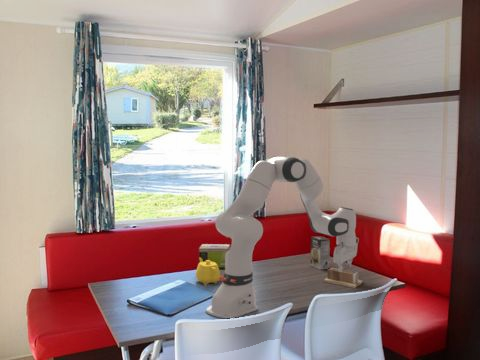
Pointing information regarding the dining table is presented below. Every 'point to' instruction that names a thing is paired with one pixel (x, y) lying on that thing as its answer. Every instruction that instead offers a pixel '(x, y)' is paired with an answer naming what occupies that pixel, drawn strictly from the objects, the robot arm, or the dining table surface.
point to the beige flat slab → (343, 283)
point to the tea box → (215, 254)
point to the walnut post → (342, 275)
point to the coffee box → (320, 252)
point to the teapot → (207, 272)
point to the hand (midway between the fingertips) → (344, 269)
